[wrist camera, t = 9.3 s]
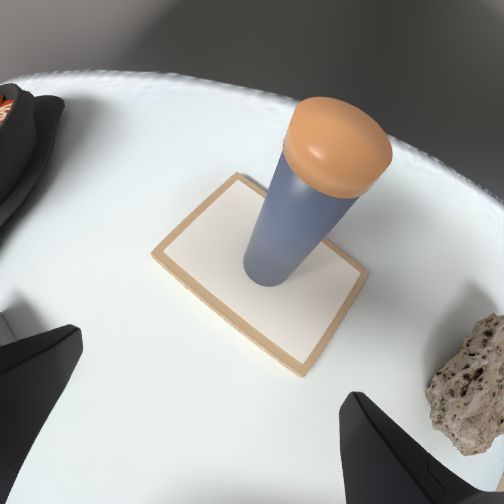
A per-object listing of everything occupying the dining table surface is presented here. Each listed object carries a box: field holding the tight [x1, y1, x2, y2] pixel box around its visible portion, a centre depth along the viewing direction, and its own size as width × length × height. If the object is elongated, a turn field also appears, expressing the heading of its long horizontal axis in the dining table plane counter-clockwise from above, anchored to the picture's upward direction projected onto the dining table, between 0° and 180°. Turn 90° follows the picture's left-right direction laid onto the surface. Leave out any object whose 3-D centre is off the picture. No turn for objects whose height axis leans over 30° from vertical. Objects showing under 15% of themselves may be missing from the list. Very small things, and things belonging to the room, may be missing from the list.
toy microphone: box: [243, 97, 392, 287], centre depth 15 cm, size 4×4×13 cm
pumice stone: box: [425, 313, 504, 456], centre depth 16 cm, size 14×12×8 cm
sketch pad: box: [151, 172, 369, 377], centre depth 21 cm, size 14×10×1 cm
